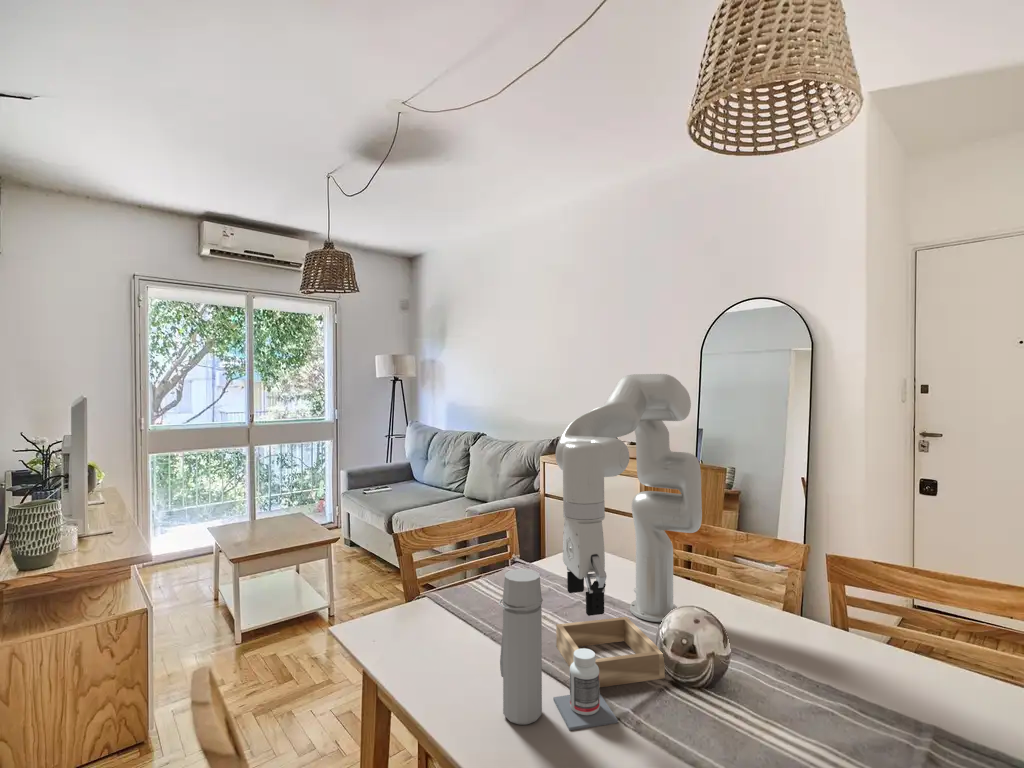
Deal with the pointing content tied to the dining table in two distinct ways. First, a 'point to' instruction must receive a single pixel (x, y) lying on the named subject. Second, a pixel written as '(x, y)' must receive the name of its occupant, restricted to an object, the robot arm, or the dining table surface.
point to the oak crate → (616, 668)
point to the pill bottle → (584, 682)
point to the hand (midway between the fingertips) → (585, 602)
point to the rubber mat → (584, 721)
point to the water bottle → (522, 646)
